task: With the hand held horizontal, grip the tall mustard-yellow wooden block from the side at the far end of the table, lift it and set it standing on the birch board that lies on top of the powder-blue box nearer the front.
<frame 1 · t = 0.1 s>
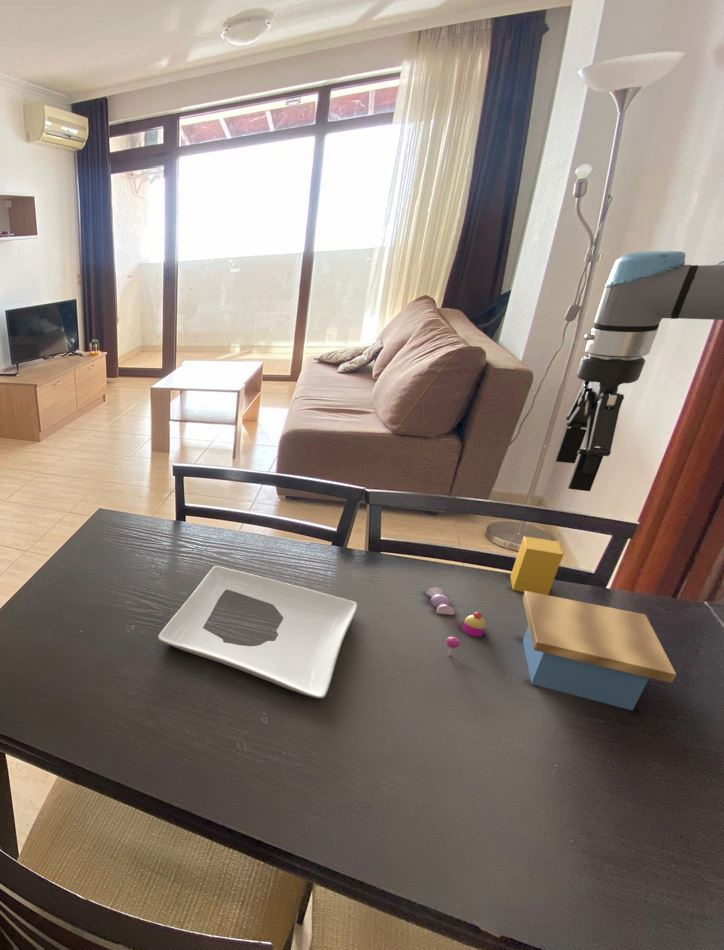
hand: (571, 475, 97), 22 cm above the table, tool pointing down, fingers open, 13 cm apart
blue box: (571, 677, 82), on the table
candy: (451, 630, 94), on the table
birch board: (588, 636, 79), resting on blue box
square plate: (257, 635, 97), on the table
yellow block: (526, 590, 102), on the table
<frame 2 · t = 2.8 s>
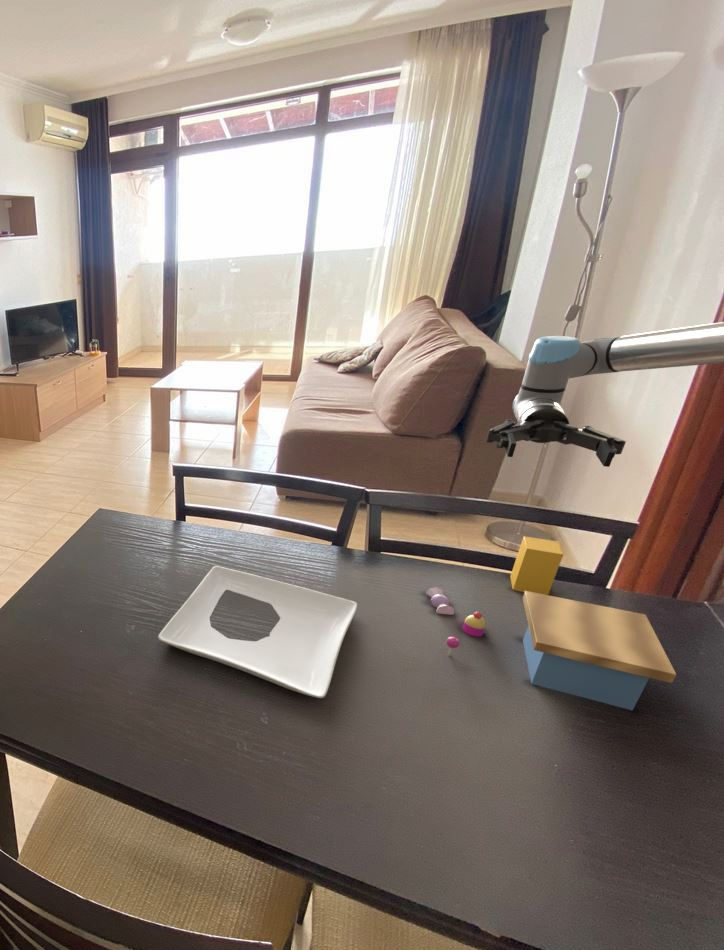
hand: (558, 454, 99), 24 cm above the table, tool horizontal, fingers open, 13 cm apart
nothing on the table moved.
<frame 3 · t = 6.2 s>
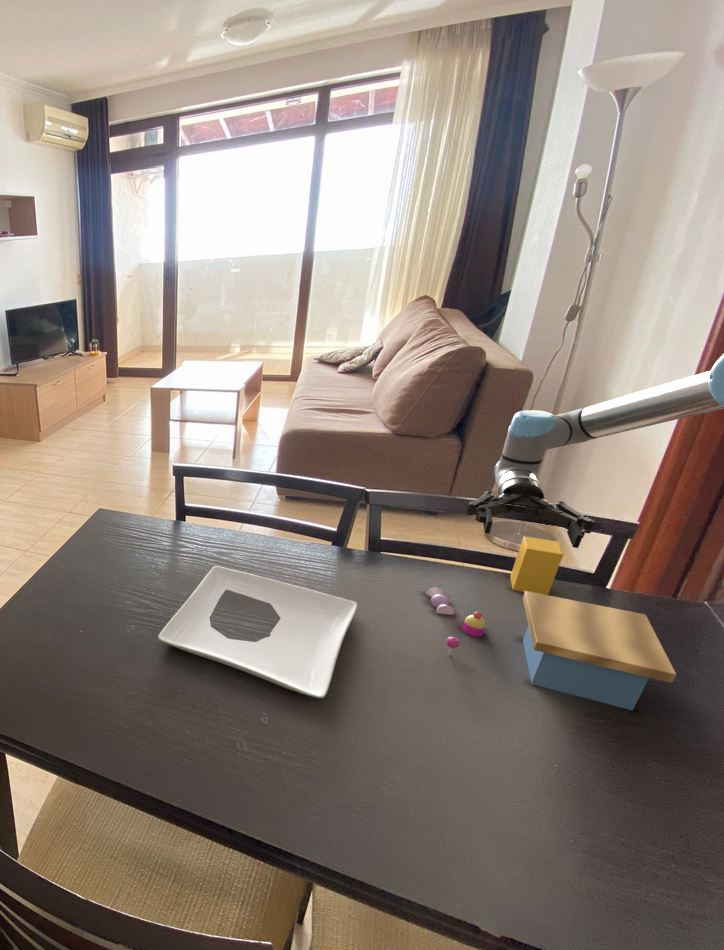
hand: (531, 534, 106), 7 cm above the table, tool horizontal, fingers open, 13 cm apart
nothing on the table moved.
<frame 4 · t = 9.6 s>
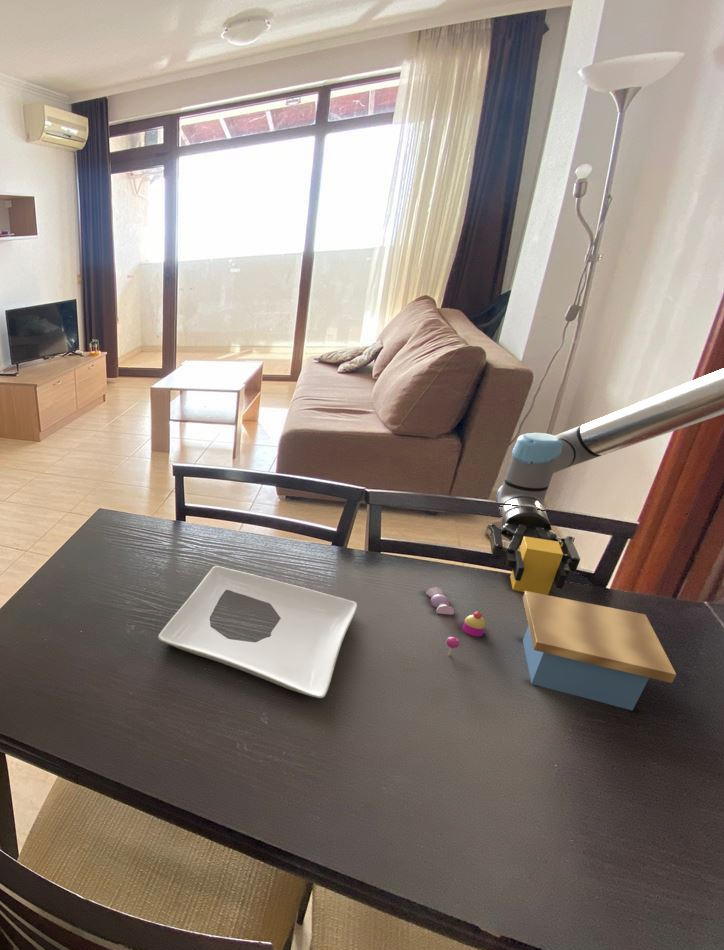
hand: (540, 578, 95), 6 cm above the table, tool horizontal, fingers closed on yellow block, 5 cm apart
yellow block: (526, 590, 102), on the table, touching gripper
everything else where it was.
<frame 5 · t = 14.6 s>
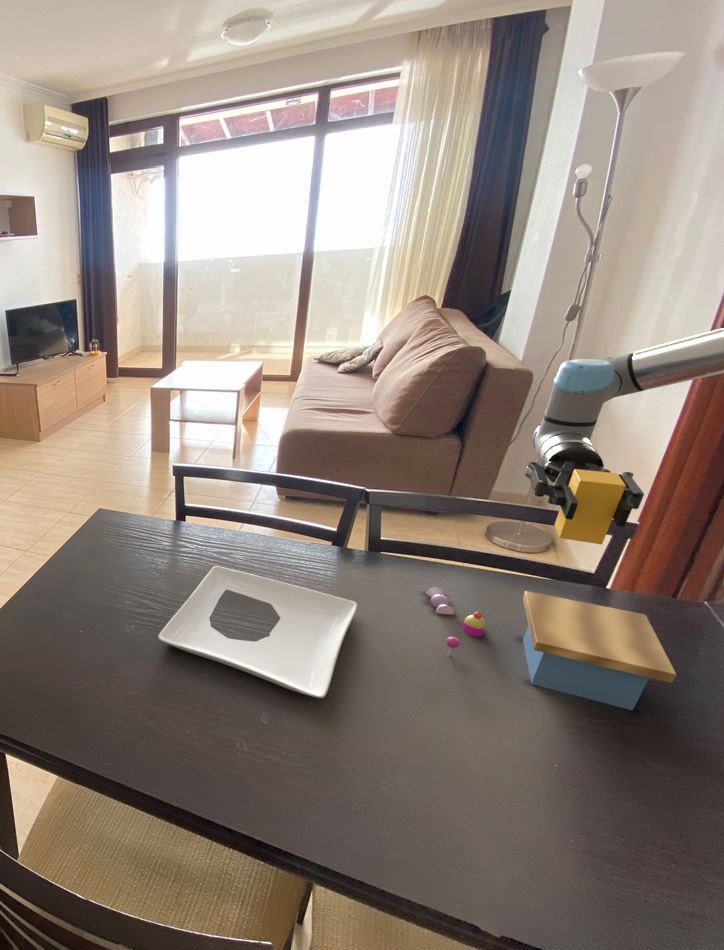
hand: (597, 514, 79), 24 cm above the table, tool horizontal, fingers closed on yellow block, 5 cm apart
yellow block: (577, 534, 86), point 18 cm above the table, touching gripper
everything else where it was.
when the fingers open (15 cm above the table, at t = 19.4 s): yellow block stays where it is, resting on birch board.
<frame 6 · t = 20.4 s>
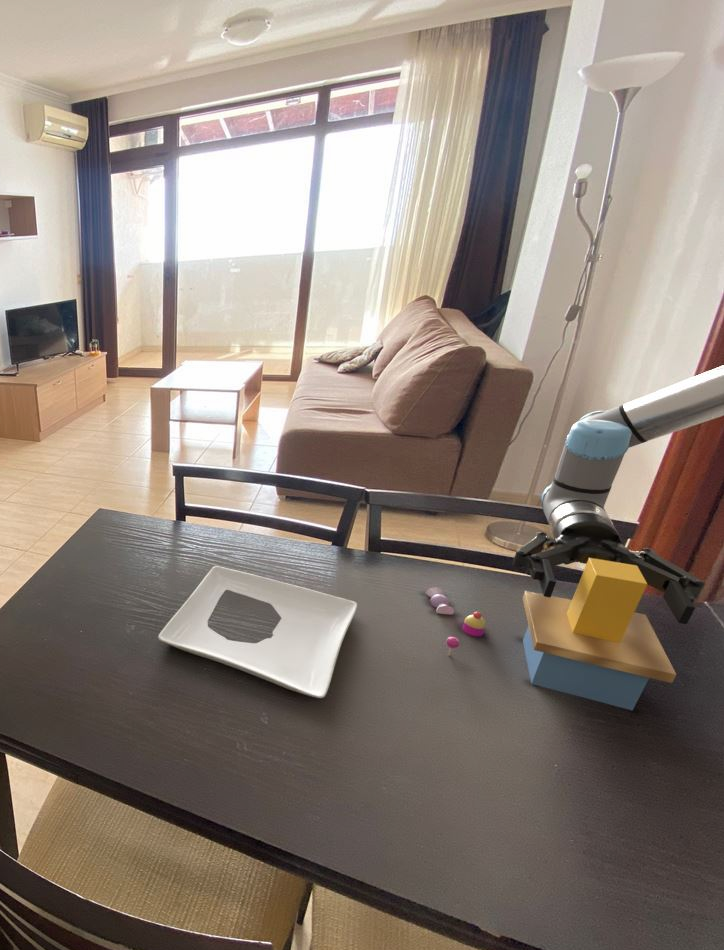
hand: (615, 601, 73), 16 cm above the table, tool horizontal, fingers open, 13 cm apart
yellow block: (592, 627, 78), point 9 cm above the table, touching birch board
everything else where it was.
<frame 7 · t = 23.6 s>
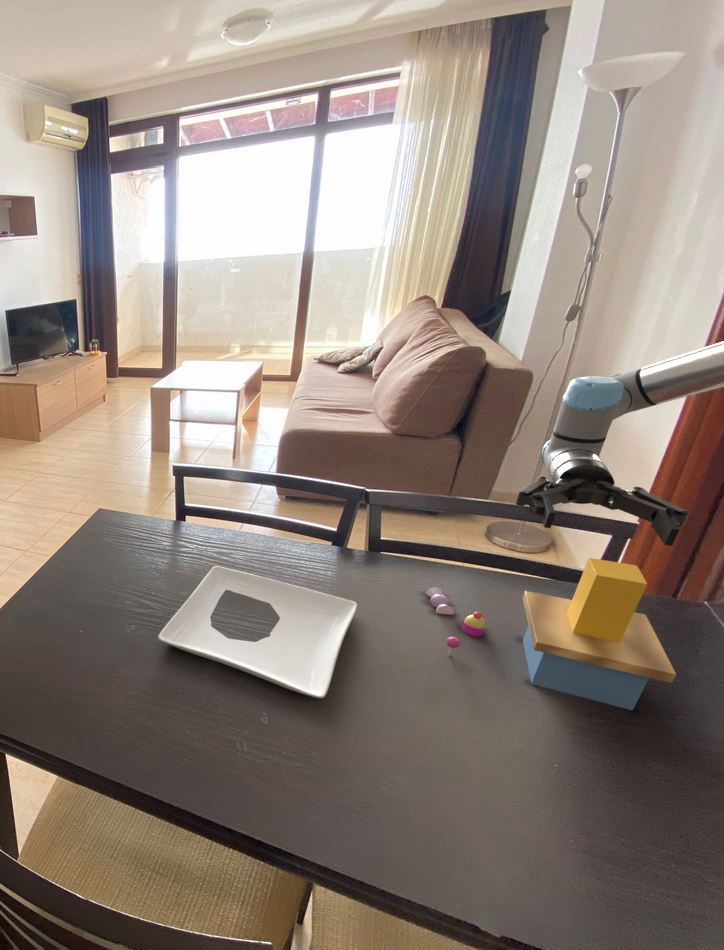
hand: (608, 528, 82), 21 cm above the table, tool horizontal, fingers open, 13 cm apart
nothing on the table moved.
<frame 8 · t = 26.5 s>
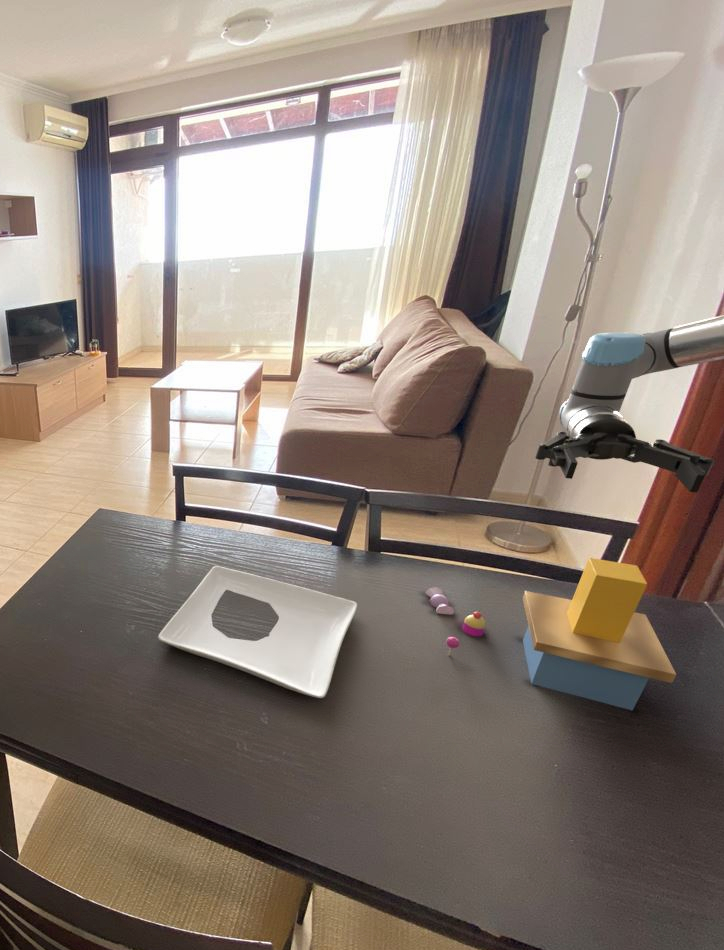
hand: (632, 477, 81), 28 cm above the table, tool horizontal, fingers open, 13 cm apart
nothing on the table moved.
at the end: yellow block inside the target area on the birch board (0.0 cm from its centre), point 1.5 cm above the birch board's base; yellow block tilted 0°; the gripper is holding nothing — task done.
